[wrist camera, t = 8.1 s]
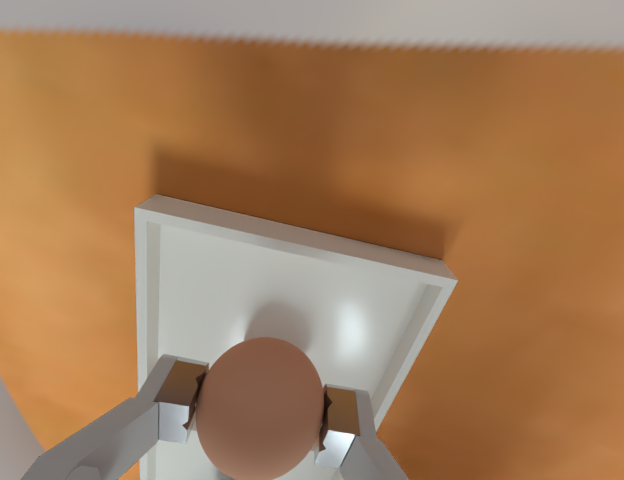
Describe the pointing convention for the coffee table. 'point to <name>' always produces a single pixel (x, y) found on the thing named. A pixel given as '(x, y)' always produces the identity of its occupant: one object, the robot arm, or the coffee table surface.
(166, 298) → the dish
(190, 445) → the dish
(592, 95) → the coffee table surface
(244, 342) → the terracotta ball
